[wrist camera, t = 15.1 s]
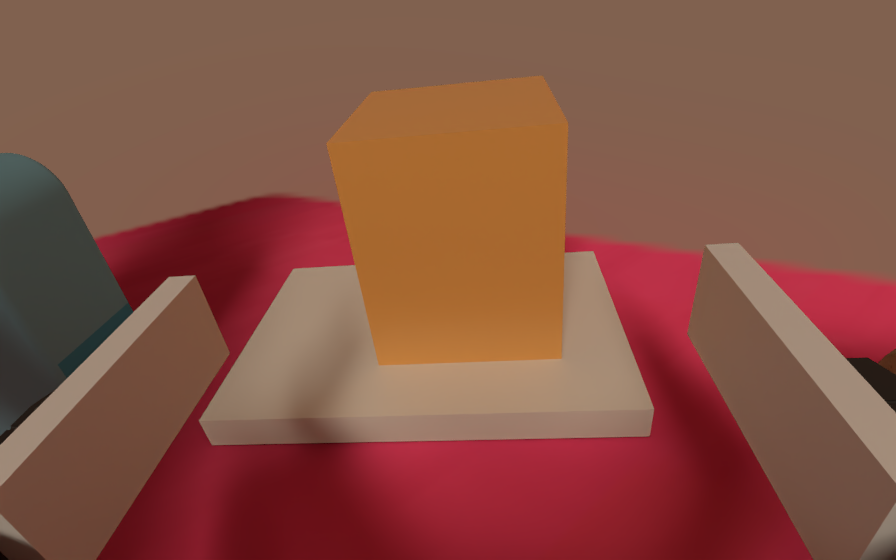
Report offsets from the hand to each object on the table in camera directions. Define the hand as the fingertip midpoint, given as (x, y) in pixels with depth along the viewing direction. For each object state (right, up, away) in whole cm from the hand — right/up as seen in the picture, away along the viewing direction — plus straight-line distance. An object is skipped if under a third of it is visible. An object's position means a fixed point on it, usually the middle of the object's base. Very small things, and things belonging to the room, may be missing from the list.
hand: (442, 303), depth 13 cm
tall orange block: (+1, -1, +12) cm, 12 cm away
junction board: (-1, -3, +12) cm, 12 cm away
